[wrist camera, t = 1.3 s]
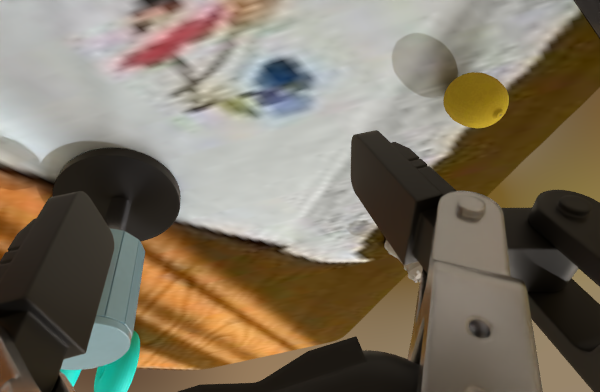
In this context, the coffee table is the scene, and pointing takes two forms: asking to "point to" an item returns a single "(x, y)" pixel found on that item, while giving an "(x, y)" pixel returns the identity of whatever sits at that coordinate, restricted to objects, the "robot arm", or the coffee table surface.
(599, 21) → the black wireless router
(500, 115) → the lemon
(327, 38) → the coffee table surface
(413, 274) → the rook chess piece
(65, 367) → the cup
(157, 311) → the coffee table surface
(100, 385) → the donuts
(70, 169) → the holder
